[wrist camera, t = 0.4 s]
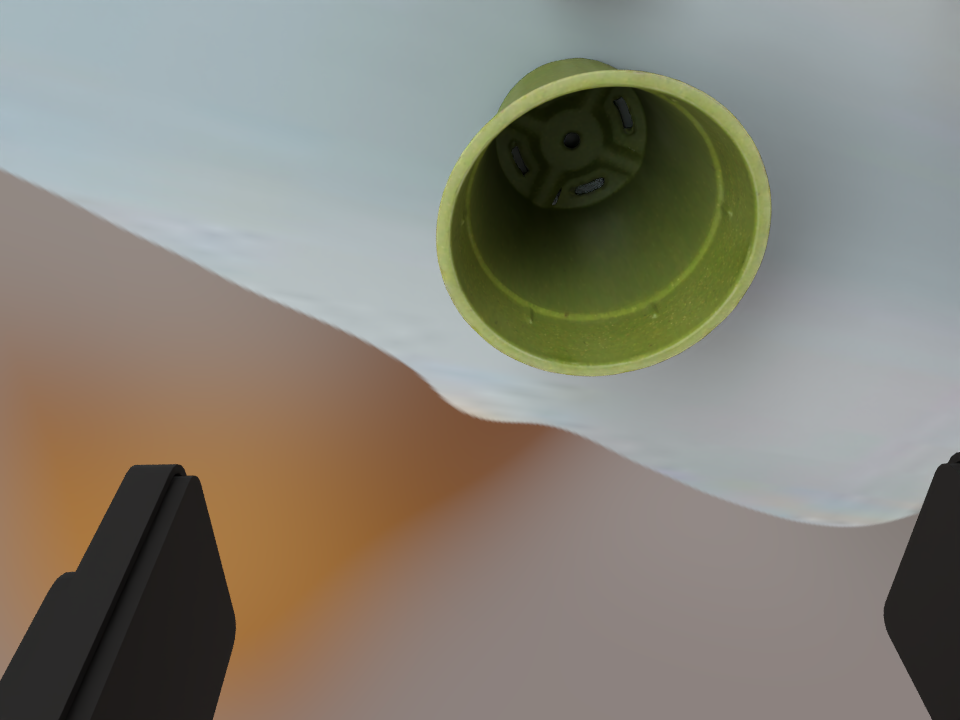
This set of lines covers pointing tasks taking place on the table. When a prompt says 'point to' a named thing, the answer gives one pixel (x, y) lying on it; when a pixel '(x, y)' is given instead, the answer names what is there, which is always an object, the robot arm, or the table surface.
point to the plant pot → (603, 220)
